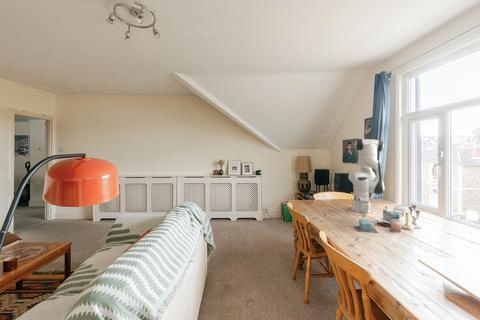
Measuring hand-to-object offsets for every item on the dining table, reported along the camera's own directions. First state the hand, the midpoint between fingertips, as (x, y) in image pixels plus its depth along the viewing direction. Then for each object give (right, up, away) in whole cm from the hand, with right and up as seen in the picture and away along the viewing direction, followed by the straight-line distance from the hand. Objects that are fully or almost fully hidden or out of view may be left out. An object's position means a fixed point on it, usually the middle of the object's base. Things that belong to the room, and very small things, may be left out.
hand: (362, 215), depth 171 cm
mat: (-4, -8, -11) cm, 14 cm away
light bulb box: (+23, -7, 0) cm, 24 cm away
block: (-2, -5, -5) cm, 7 cm away
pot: (+16, -8, -14) cm, 23 cm away
